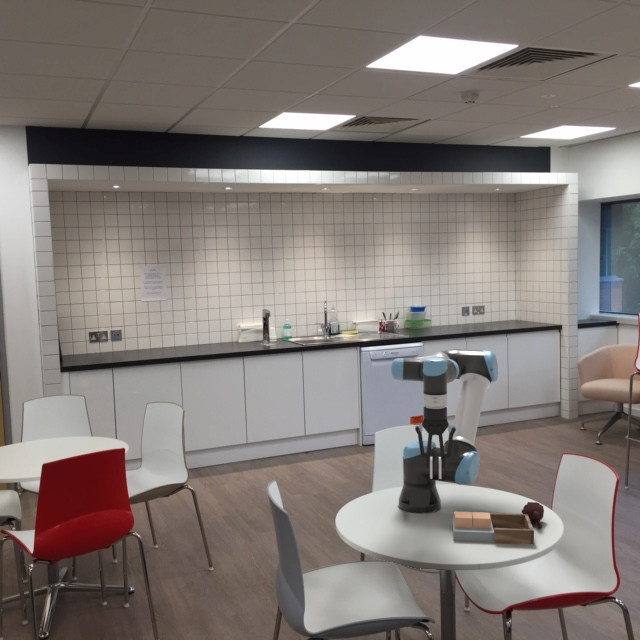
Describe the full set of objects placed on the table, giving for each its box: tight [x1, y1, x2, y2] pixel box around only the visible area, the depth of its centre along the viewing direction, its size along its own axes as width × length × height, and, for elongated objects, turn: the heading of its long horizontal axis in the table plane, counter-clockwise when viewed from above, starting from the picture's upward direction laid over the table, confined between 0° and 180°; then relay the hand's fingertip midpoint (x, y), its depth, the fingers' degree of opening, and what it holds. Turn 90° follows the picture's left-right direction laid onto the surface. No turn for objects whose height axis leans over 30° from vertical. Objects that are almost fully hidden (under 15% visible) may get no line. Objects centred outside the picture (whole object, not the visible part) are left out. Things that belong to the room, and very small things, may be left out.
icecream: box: [521, 501, 545, 529], centre depth 238 cm, size 7×7×15 cm
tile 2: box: [471, 511, 491, 529], centre depth 228 cm, size 6×6×3 cm
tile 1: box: [453, 511, 472, 528], centre depth 228 cm, size 6×6×3 cm
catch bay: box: [489, 512, 535, 546], centre depth 226 cm, size 14×12×4 cm
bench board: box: [451, 516, 494, 543], centre depth 228 cm, size 12×12×3 cm
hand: (435, 477), depth 228 cm, fingers open, 2 cm apart
